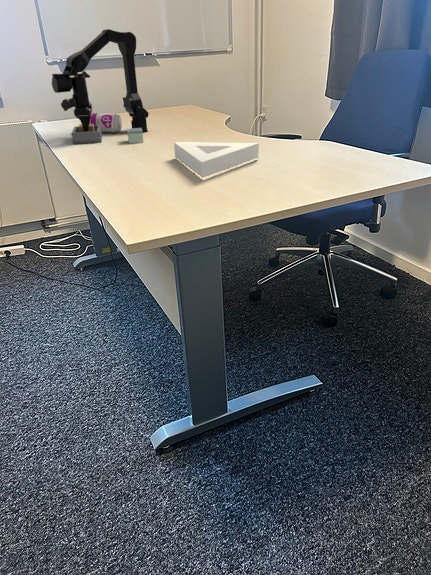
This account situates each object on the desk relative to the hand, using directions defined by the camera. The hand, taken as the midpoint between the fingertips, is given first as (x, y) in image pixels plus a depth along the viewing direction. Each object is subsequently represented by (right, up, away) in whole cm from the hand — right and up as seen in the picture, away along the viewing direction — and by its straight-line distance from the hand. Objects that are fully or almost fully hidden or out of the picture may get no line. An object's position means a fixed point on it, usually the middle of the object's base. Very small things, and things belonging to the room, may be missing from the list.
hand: (86, 130), depth 185 cm
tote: (0, -3, +2) cm, 4 cm away
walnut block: (0, -3, +2) cm, 3 cm away
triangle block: (+58, -26, -37) cm, 74 cm away
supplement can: (-4, +9, +15) cm, 18 cm away
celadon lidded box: (+22, -6, -3) cm, 23 cm away
